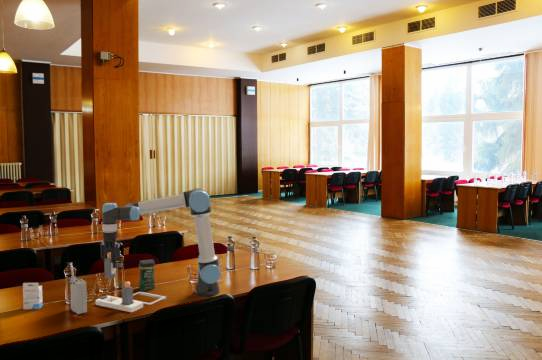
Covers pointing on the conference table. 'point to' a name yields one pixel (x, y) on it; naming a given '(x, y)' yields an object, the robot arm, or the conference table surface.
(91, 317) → the conference table surface
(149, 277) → the coffee jar
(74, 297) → the jerry can
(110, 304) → the strip
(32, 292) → the ink box
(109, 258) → the grey bottle
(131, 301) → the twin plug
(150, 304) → the tray
